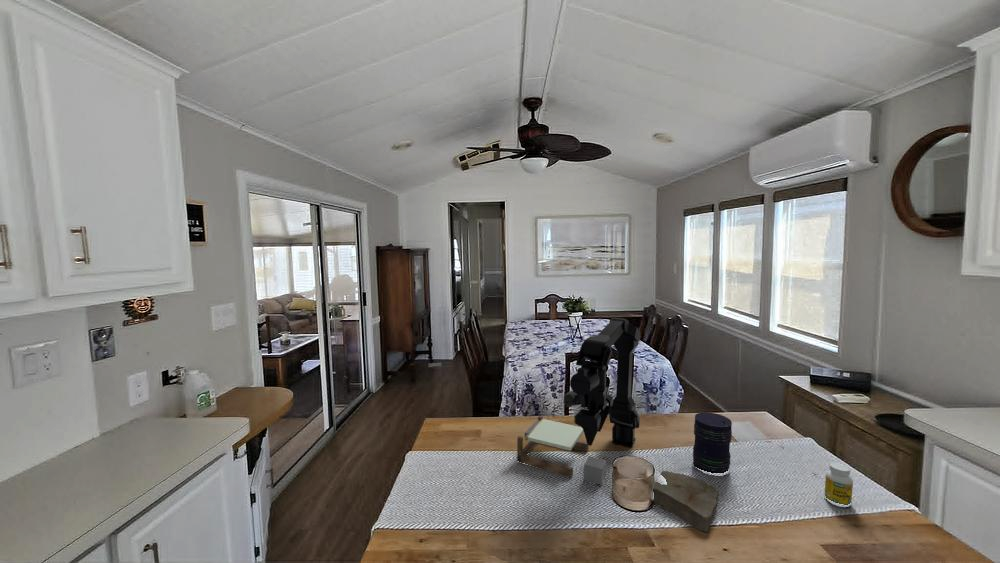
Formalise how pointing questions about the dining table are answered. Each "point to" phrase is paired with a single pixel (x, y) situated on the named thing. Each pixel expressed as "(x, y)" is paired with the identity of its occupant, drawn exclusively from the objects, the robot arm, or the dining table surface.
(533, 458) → the frame
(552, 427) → the trapdoor
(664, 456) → the dining table surface
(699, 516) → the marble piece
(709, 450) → the storage jar
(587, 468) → the gray cube
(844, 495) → the supplement bottle
